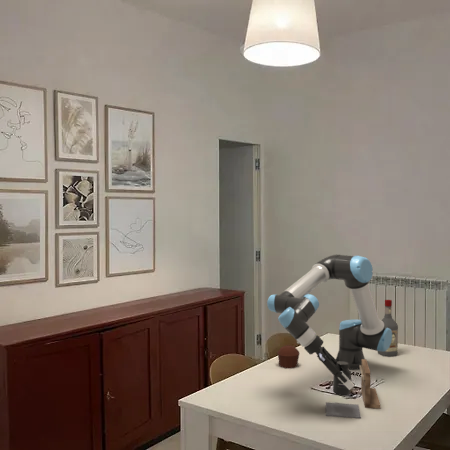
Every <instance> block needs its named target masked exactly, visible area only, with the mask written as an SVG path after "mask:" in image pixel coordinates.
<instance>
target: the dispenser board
mask: <svg viewBox="0 0 450 450" xmlns="http://www.w3.org/2000/svg"><path fill="white" fill-rule="evenodd" d="M359 367H360V369H359V371H360V374H361V377H360V378H361V380H360V381H361V382H360V391H361V397H362V400H363V405H364V408H366V409H367V408H369V409H381V402H380V400H379V395H378V393H377V390H376V388H374V387H371V370H370V367H369V364H368V360H367V359H366V358H365V359H362V366H361V365H360V366H359Z"/></svg>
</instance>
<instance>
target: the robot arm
mask: <svg viewBox="0 0 450 450" xmlns="http://www.w3.org/2000/svg"><path fill="white" fill-rule="evenodd" d="M372 278H373V265H372V262H371V261H370V259H369V258H367V257H366V256H361V255H349V254H347V255H345V254H332V255H329V256H326V257H323V258H322V259H321V260H319V261H317V262H316V263H315V264H313V265H312V267H311V269H310V270H309V271H308V272H306V273H305V274H304V275H303V276H301V277H300V278H299V279H298V280H296V281H295V282H294V283H292V284H291V285H290V286H289V287H288V288H286V289H285V290H283V291H282V292H281V293H279V294H277V293H275V294H271V295H270V296H268V299H267V302H266V303H267V304H266V306H267V308H268V310H269V311H270V312H272V313H273V312H274V313H276V314H280V315H279V316H278V318H277V320H278V322H279V324H280V325H281V326H282V327H283V328H284V329H285V330H286V331H287V332H288V333H289V334H290V335H291V337H293V338H294V339H295V341H296V344H299V345H301V347H303V349H304V350H305V351H306V352H307V353H308V354H309V355H313V354H314V353H315V354H316V357H317V359H318V360H319V361H320V362H321V363H322V364H323V365H324V366H325V367H326V368H327V369H328V370H329V371H330V373H331V374H332V375H334V376H335V378H336V379H337V378H338V379H339V380H340V381H341V382H342V383H343V384H344V385H345V386H346V387H347V388H348V389H349V390H350V389H353V388H354V386H355V384H354V383H353V382H352V381H354V378H353V377H352V376H351V381H350V380H349V379H348V378H347V377H346V376H345V374H344V373H343V372H341V371H340V370H339V369H338V368H337V366H336V364H337V362H339V361H343V362H347V363H349V370H360V367H359V366H360V365H361V366H362V359H366V358H365V354H364V351H363V349H367V350H372V351H375V352H378V351H382V352H384V351H386V350H387V349H388V348H389V346H390V344H391V341H392V331H391V329H389V328H385V325H384V323H383V321H382V319H380V317H379V313H378V311H377V307H376V305H375V304H376V303H375V301H374V297H373V294H372V292H371V289H370V285H369V284H370V282H371V279H372ZM329 280H339V281H344V284H345V287H346V288H347V289H349V290H350V292H351V295H352V296H351V297H352V298H353V301H354V304H355V307H356V310H357V313H358V317H359V319H345V320H342V321H340V323H339V329H338V330H339V331H338V333H339V334H338V336H339V337H338V339H339V340H338V352H337V354H336V358H335V357H334V356H333V355H332V354H331V353H330V352H329V351H328V350H327V349H326V348H325V346H323V344H324V340H323V339H322V338H321V337H320V336H319V335H317V333H316V332H315V330H314V329H312V327H311V326H309V324H308V323H307V322H308V321H309V320H310V318H311V317H312V316H313V315H314V314H315V313H317V312H316V311H317V310H318V308H319V307H320V302H319V299H318V298H317V296H315V295H314V294H310V293H312V291H314V289H316V288H317V287H318V286H319V285H320V284H322V283H326V282H328V281H329ZM337 372H338V373H337ZM336 373H337V374H336Z"/></svg>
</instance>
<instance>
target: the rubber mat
mask: <svg viewBox="0 0 450 450" xmlns="http://www.w3.org/2000/svg"><path fill="white" fill-rule="evenodd" d="M325 416H326V417H338V418H339V417H340V418H351V419H361V418H362V415H361V411H360V406H359V404H356V403H343V402H330V401H329V402H327V401H326V402H325Z"/></svg>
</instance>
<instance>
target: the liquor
mask: <svg viewBox="0 0 450 450" xmlns="http://www.w3.org/2000/svg"><path fill="white" fill-rule="evenodd" d="M392 307H393V301H392V299H384V316H383V318H382V319H381V320H382V321H383V323H384V325H385V328H389V329H391V331H392V341H391V344H390V346H389V348H388V349H387V350H386V351H384V352H382V351H377V354H378V355H380V356H382V357H388V358H390V357H397V355H398V351H399V349H398V345H399V343H398V342H399V341H398V339H399V325H398V323H397V322H396V321H395V319H394V318H393V316H392Z"/></svg>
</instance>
